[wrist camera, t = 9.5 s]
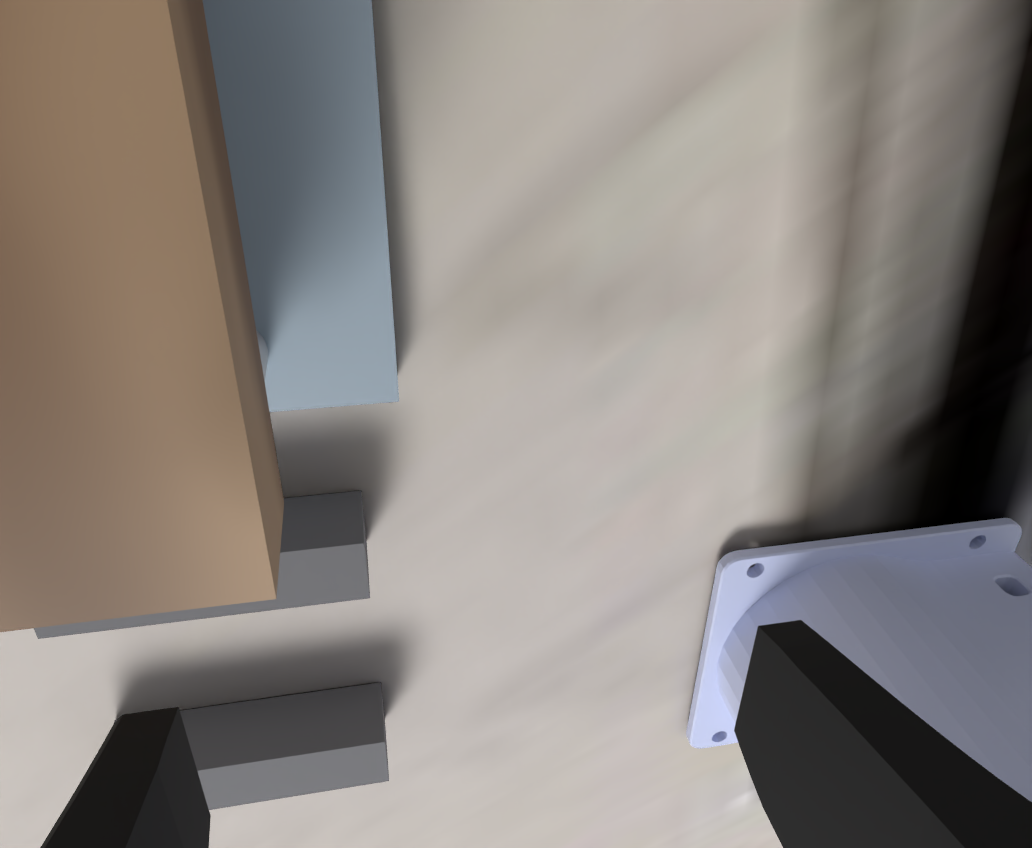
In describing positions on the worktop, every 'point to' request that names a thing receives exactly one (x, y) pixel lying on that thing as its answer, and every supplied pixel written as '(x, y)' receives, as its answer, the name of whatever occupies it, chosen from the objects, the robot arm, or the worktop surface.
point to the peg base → (309, 194)
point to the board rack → (294, 718)
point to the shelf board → (124, 325)
